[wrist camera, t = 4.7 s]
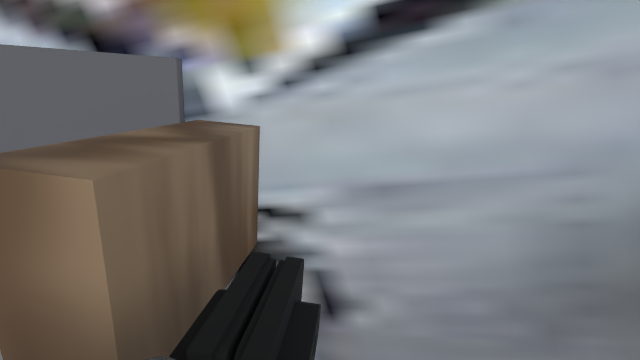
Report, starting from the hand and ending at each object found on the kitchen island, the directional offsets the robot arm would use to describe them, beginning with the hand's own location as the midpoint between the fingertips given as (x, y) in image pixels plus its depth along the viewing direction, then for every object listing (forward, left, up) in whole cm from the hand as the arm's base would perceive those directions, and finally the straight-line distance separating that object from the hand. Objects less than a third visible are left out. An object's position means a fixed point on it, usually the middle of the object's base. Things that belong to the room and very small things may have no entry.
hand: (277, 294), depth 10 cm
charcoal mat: (+16, 0, -10) cm, 19 cm away
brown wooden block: (+6, 0, -10) cm, 12 cm away
